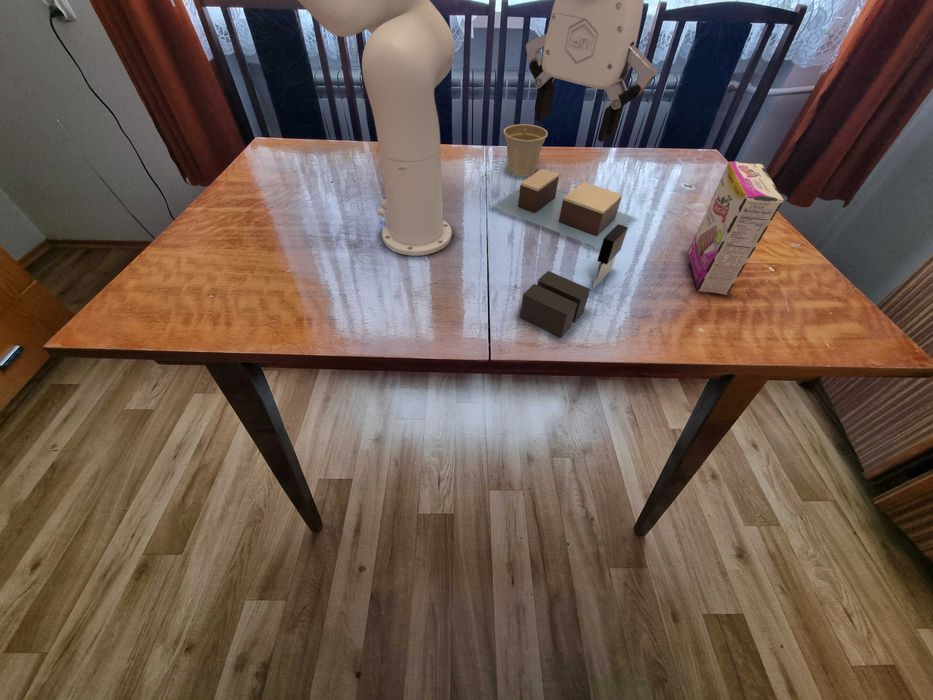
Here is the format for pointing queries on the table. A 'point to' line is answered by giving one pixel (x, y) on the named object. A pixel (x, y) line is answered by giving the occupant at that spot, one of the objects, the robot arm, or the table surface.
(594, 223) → the cake
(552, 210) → the platter
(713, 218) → the candy bar box
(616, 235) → the knife
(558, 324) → the knife block
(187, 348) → the table surface
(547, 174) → the two-tone brown block
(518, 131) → the flower pot
